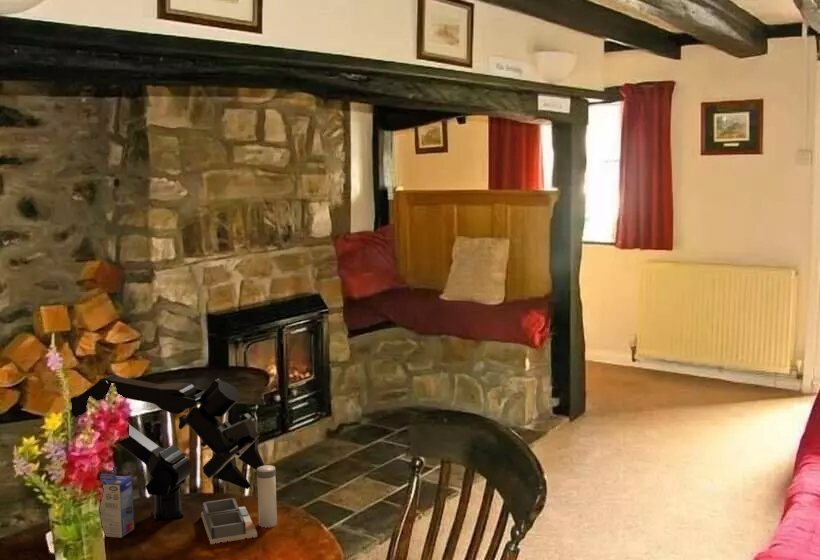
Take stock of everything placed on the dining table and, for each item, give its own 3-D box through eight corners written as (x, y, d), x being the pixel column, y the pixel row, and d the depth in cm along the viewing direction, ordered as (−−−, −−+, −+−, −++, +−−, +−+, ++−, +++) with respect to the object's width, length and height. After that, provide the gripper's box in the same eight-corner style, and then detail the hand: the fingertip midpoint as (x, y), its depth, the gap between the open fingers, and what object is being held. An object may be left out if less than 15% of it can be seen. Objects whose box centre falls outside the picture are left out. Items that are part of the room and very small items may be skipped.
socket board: (201, 516, 197) (200, 502, 196) (245, 510, 200) (244, 496, 200) (210, 544, 183) (209, 528, 182) (257, 536, 186) (256, 521, 186)
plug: (257, 521, 194) (255, 466, 192) (275, 519, 195) (273, 464, 193) (260, 529, 190) (258, 472, 188) (278, 526, 191) (277, 470, 190)
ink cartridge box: (136, 528, 191) (132, 465, 189) (123, 539, 186) (119, 474, 184) (96, 525, 193) (92, 463, 191) (82, 535, 188) (77, 472, 186)
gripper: (213, 418, 182) (264, 471, 181) (249, 395, 200) (296, 443, 199) (181, 451, 185) (231, 504, 184) (220, 425, 203) (265, 474, 202)
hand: (257, 480), depth 192 cm, fingers open, 9 cm apart
